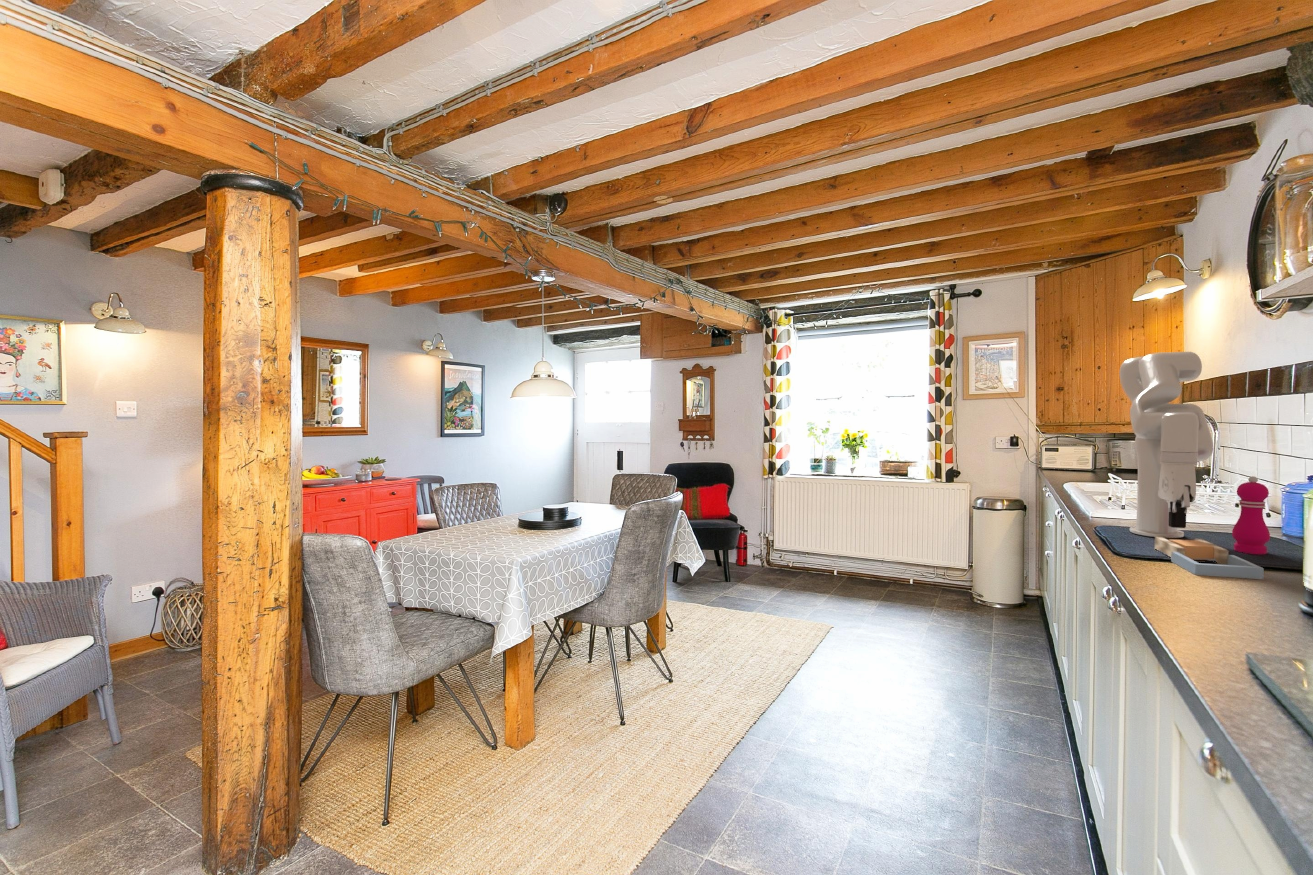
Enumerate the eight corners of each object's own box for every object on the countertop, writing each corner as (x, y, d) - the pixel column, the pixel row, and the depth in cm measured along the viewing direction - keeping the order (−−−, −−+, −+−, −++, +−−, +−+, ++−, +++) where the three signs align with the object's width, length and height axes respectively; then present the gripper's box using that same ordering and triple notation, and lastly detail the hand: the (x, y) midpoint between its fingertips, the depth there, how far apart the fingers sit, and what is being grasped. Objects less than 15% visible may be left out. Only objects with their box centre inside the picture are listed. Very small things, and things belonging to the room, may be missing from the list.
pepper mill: (1252, 548, 164) (1256, 474, 163) (1277, 555, 157) (1281, 478, 156) (1223, 548, 165) (1226, 474, 164) (1246, 554, 158) (1250, 478, 157)
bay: (1171, 561, 153) (1171, 551, 153) (1233, 565, 149) (1234, 555, 149) (1194, 574, 142) (1195, 564, 141) (1263, 579, 137) (1263, 568, 137)
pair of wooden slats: (1154, 549, 165) (1154, 536, 165) (1201, 552, 161) (1201, 539, 161) (1176, 561, 153) (1177, 547, 152) (1227, 564, 149) (1228, 550, 149)
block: (1168, 554, 161) (1169, 539, 160) (1195, 555, 159) (1195, 540, 159) (1185, 561, 154) (1185, 545, 154) (1213, 562, 152) (1213, 546, 152)
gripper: (1149, 457, 171) (1148, 522, 171) (1174, 460, 157) (1172, 531, 157) (1182, 457, 168) (1181, 523, 169) (1210, 460, 154) (1208, 532, 155)
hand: (1177, 527), depth 163 cm, fingers closed
